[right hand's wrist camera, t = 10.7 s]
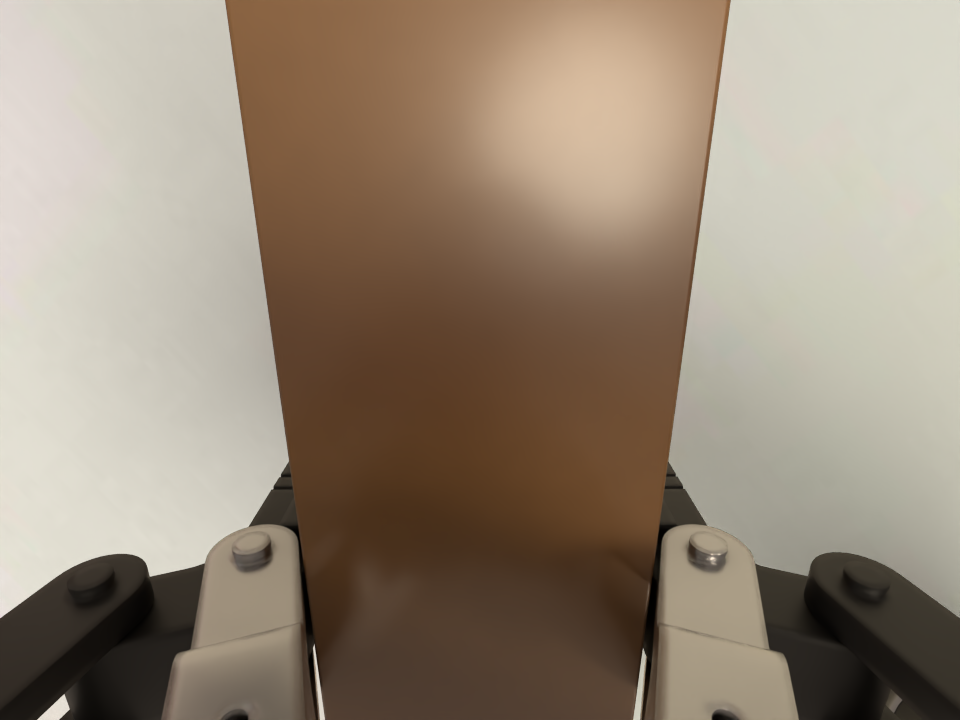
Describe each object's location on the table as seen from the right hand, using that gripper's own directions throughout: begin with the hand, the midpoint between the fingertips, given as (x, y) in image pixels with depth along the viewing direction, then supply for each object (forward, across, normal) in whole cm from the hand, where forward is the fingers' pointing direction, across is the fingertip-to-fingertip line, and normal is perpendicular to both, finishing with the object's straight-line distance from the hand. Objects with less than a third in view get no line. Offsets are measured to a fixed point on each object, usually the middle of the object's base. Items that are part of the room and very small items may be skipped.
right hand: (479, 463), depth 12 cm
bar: (+3, 0, +9) cm, 10 cm away
